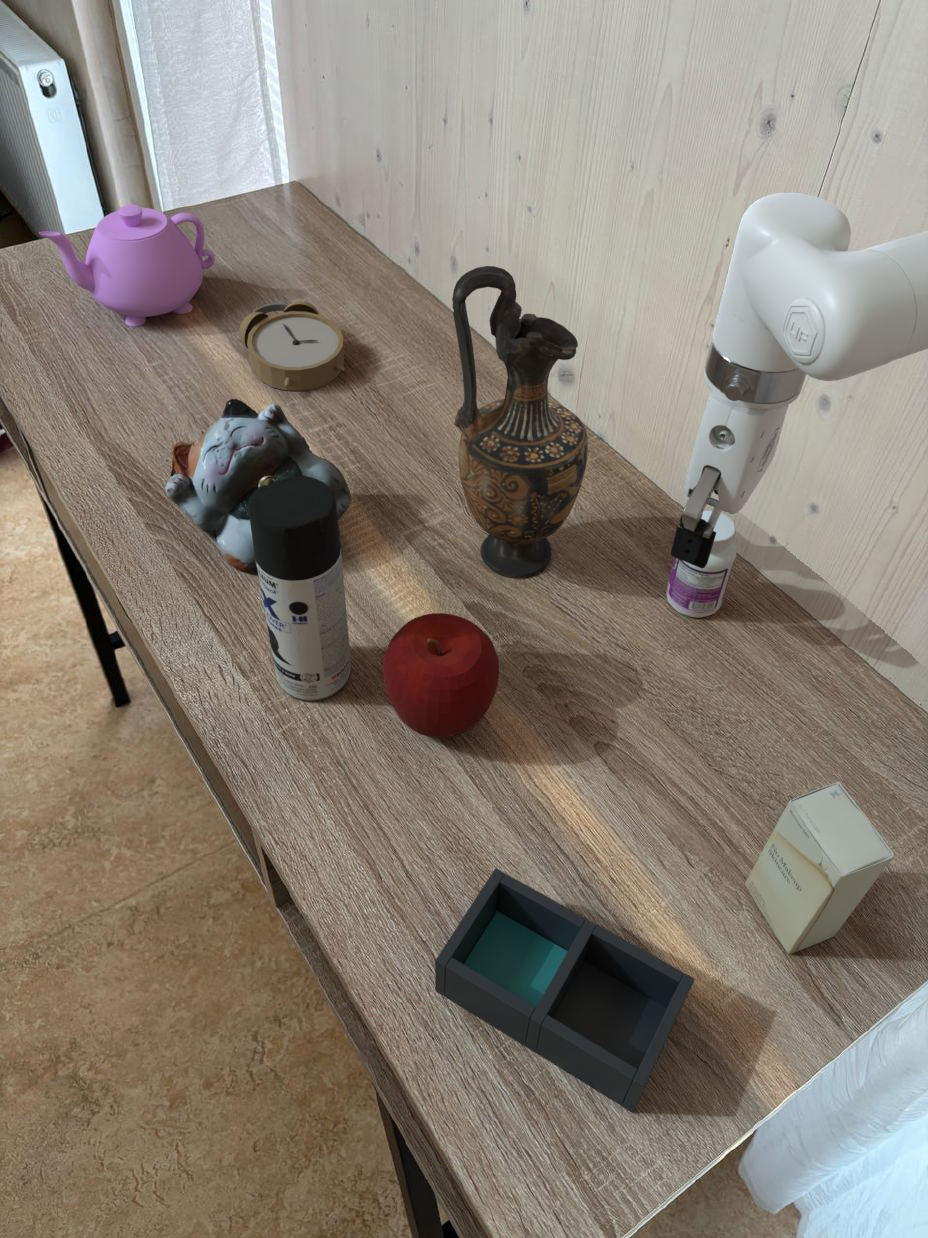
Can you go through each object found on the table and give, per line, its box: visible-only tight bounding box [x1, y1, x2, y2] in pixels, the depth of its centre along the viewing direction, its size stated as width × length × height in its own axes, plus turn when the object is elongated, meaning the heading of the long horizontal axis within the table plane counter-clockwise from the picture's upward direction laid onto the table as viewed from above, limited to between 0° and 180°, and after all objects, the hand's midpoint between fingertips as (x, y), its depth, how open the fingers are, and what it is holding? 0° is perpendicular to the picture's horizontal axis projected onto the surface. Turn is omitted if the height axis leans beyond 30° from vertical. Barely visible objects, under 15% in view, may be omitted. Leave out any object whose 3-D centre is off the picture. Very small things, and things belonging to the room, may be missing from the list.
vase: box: [451, 265, 589, 579], centre depth 90 cm, size 12×12×30 cm
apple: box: [382, 612, 500, 738], centre depth 83 cm, size 10×10×10 cm
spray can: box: [248, 475, 352, 702], centre depth 82 cm, size 7×7×20 cm
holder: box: [434, 868, 696, 1114], centre depth 69 cm, size 15×8×5 cm, turn 59°
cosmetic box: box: [744, 781, 894, 955], centre depth 71 cm, size 6×4×12 cm
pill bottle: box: [666, 510, 738, 618], centre depth 93 cm, size 5×5×10 cm
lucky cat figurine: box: [164, 398, 352, 575], centre depth 98 cm, size 15×12×14 cm
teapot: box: [38, 204, 216, 327], centre depth 125 cm, size 20×14×12 cm
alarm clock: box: [238, 300, 346, 392], centre depth 121 cm, size 11×5×15 cm
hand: (709, 527), depth 90 cm, fingers open, 9 cm apart
